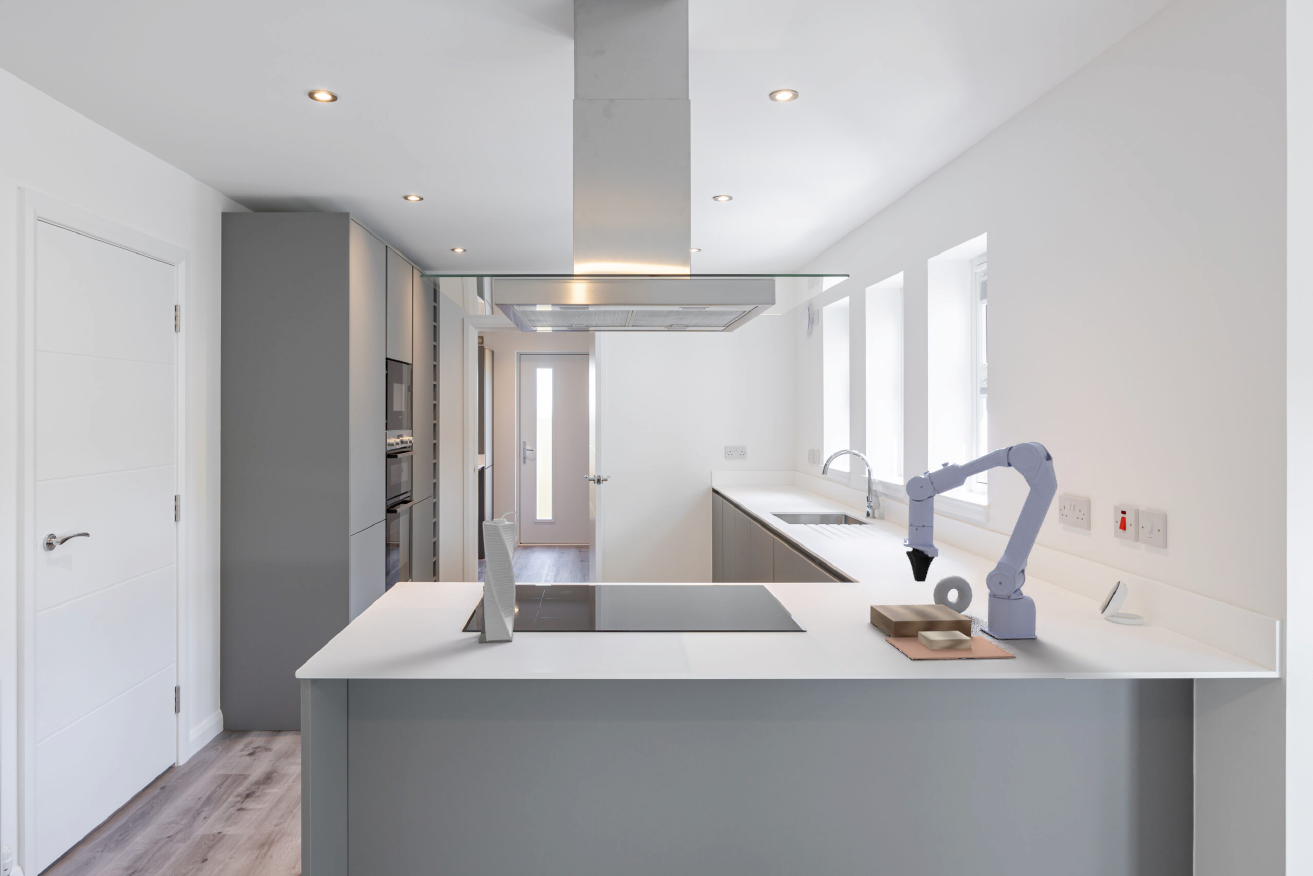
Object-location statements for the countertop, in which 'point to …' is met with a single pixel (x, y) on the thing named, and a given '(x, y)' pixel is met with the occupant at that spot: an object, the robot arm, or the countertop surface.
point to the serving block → (918, 619)
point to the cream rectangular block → (944, 640)
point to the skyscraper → (498, 581)
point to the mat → (977, 650)
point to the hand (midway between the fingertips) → (919, 581)
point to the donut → (949, 584)
